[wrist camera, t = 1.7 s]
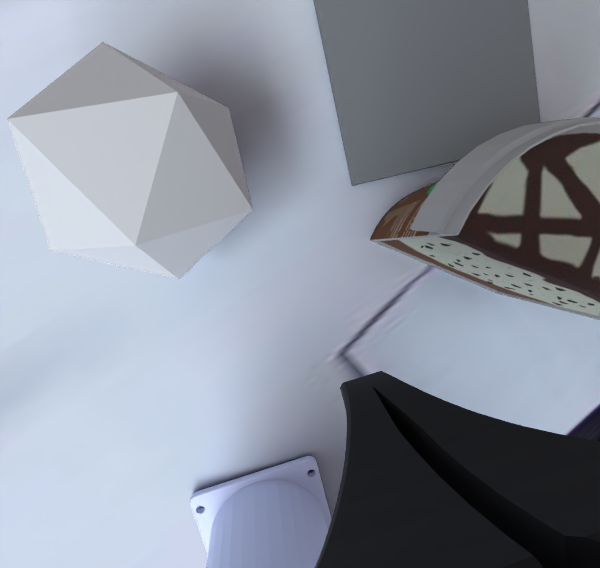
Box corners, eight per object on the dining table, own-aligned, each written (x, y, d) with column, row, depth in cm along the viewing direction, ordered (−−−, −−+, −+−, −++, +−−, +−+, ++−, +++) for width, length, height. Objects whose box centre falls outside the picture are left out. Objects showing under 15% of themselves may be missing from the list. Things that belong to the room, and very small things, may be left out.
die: (236, 97, 19) (35, -80, 10) (316, 215, 16) (135, 110, 7) (148, 196, 21) (-68, 123, 13) (204, 311, 19) (-22, 315, 10)
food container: (555, 212, 22) (806, 194, 12) (515, 301, 22) (724, 354, 12) (387, 129, 19) (527, 24, 10) (347, 230, 20) (441, 227, 10)
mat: (536, 141, 21) (542, 140, 20) (352, 185, 20) (353, 184, 19) (516, -42, 19) (522, -48, 19) (312, -6, 18) (313, -12, 17)
